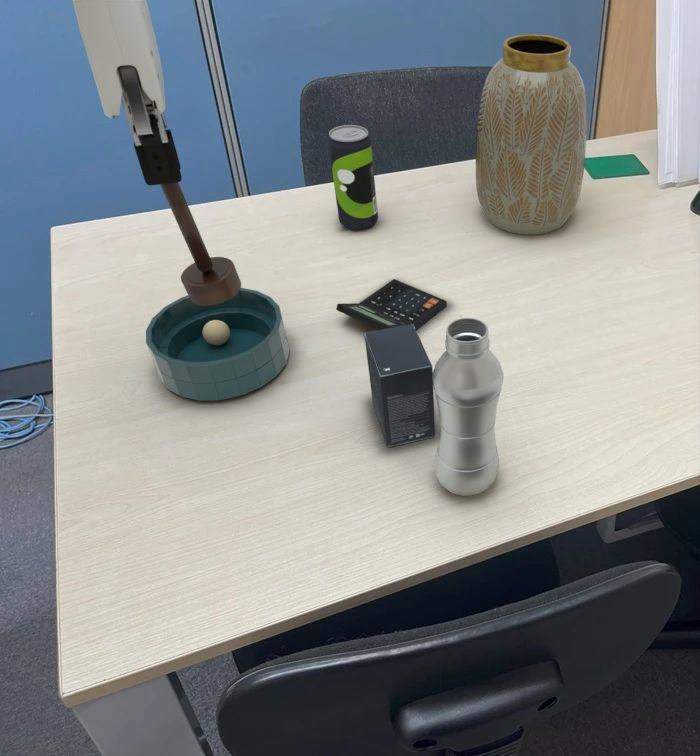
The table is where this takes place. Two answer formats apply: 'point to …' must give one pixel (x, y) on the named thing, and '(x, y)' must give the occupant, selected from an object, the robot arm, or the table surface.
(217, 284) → the brown plunger
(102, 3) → the robot arm
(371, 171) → the beverage can
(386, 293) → the calculator
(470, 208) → the table surface
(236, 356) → the bowl
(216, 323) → the ball
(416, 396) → the box
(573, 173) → the vase
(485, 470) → the plastic bottle
